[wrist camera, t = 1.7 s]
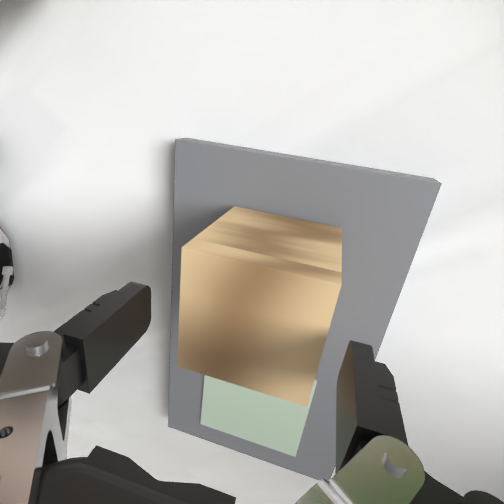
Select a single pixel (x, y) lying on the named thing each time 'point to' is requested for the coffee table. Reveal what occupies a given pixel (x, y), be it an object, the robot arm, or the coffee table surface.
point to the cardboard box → (259, 301)
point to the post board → (348, 303)
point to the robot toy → (5, 270)
